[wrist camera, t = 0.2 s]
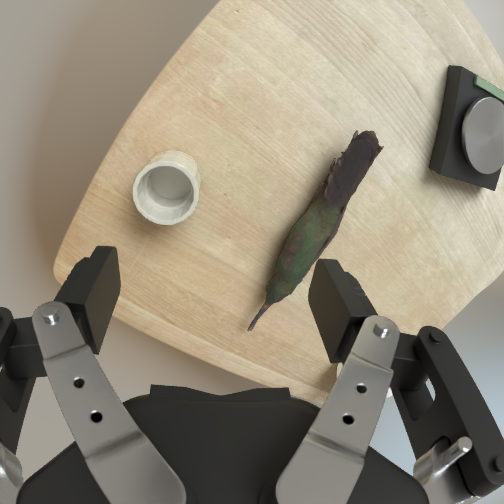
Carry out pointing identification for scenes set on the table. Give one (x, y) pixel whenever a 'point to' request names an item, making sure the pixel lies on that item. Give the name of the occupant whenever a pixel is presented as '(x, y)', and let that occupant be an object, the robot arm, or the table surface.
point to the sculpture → (321, 218)
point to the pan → (484, 135)
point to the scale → (450, 127)
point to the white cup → (168, 188)
